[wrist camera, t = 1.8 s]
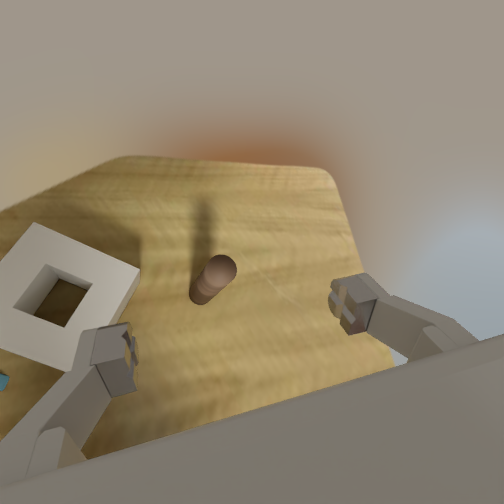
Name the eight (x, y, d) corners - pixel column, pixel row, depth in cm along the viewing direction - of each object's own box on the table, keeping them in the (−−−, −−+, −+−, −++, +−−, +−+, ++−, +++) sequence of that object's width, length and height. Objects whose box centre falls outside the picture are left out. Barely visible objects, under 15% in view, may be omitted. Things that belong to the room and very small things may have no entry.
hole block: (87, 374, 33) (78, 376, 28) (-23, 334, 31) (-56, 327, 26) (139, 282, 38) (140, 269, 33) (48, 242, 36) (33, 221, 31)
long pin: (206, 308, 40) (230, 288, 30) (185, 299, 40) (202, 275, 29) (215, 288, 42) (240, 262, 31) (194, 278, 41) (214, 249, 31)
